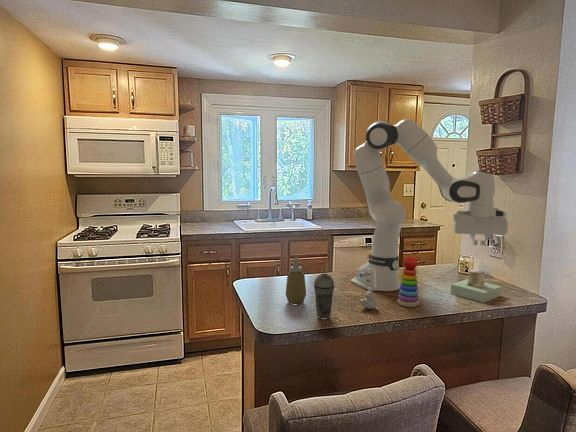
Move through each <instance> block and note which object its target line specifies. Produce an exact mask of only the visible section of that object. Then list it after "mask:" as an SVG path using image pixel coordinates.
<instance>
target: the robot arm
mask: <svg viewBox="0 0 576 432" xmlns="http://www.w3.org/2000/svg"><path fill="white" fill-rule="evenodd" d="M364 137H365V141H364V143H362V144H361V145H360V144H359V145H358V146H357V147H356V148H355V149H354V152H353V158H354V163H355V167H356V172H357V173H358V176H359V179H360V182H361V185H362V187H363V190H364V194H365V198H366V202H367V207H368V212H369V216H370V217H371V218H372V219H373V220H375V222H376V224H375V229H374V233H373V235H372V237H371V238H372V239H371V253H370V254H369V255H368V254H367V255H366V259H368V261H367V262H366V263H364V264H363V265H361V266H360V267H358V268H357V270H356V274H355V277H352V278H351V279H350V283H352V284H354V285H357V286H358V287H361V288H363V289H366V290H367V291H368V290H371V291H372V292H373V291H374V292H375V291H379V292H394V291H398V290H400V289H401V287H400V285H401V283H400V279H399V270H398V269H399V261H400V257H399V239H400V238H399V237H400V234H401V229H402V227H403V226H402V225H403V222H404V221H405V220H406V217H407V212H406V209H405V207H404V206H403V204H402V203H400V202H399V201H397V200H395V199H393V197H392V194H391V190H390V189H391V187H390V183H391V182H390V179H389V176H388V173H387V170H386V168H385V165H384V162H383V160H382V156H381V151H382V150H383V149H384V150H385V149H387V148H388V147H390V146H393V145H394V144H395V145H397V146H398V147H400V149H402V151H403V152H404V153H405V154H406V155H407V156H408V157H409V159H411V160H412V161H413V162H415V163H416V164H417V165H419V166H420V167H422V168H423V170H425V171H426V173H428V175H429V176H430V177H431V178H432V180H433V181H434V182H435V183H436V184H437V186H438V188H439V189H438V190H439V192H440V195H441V196H442V198H443V199H444V200H445V201H447V202H450V203H451V202H453V203H457V204H464V203H469V207H468V210H458V211H456V212H455V213H454V214H453V225H452V231H453V233H455V234H456V235H457V234H459V235H462V234H463V235H469V237H470V239H471V240H472V243H471V244H472V245H473V246H478V240H476V239H475V237H476V235H483V239H480V241H479V244H480V245H481V246H486V241H487V240H488V239H489V238H490V235H491V236H492V235H494V236H500V235H501V236H504V235H507V234H508V230H509V227H508V225H509V224H508V219H507V212H506V211H504V210H503V209H499V208H496V207H494V206H495V203H494V197H495V193H496V192H495V191H496V182H495V181H496V180H495V175H494V174H493V173H491V172H488V171H483V170H482V171H481V170H474V171H473V172H471V173H470V174H467V175H466V176H464V177H461V178H460V177H459V178H457V177H454V176H453V175H451V174H450V173H449V172H448V171H447V169H446V168H445V167H444V166H443V165H442V164H441V162H440V161H439V159H438V147H437V145H436V143H435V141H434V140H433V138H432V137H431V136H430V135H429V133H427V132H426V130H424V129H423V128H422V126H420V125H419V124H418V123H416V122H415V121H414V120H412V119H410V118H404V119H402V120H400V121H398V122H397V123H396V124H393V125H392V124H390V123H389V122H388V121H386V120H375V121H373V122H372V123H371V124H370V125H369V126H368V128H367V129H366V132H365V136H364Z"/></svg>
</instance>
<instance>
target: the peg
mask: <svg viewBox="0 0 576 432" xmlns="http://www.w3.org/2000/svg"><path fill="white" fill-rule="evenodd" d="M485 274H486V271H483V270H479V269H471V270H468V274H467V275H468V276H467V279H468V286H471V287H475V288H479V289H480V288H482V287H484V282H485V279H486V278H485V277H486V275H485Z"/></svg>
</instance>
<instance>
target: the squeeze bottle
mask: <svg viewBox="0 0 576 432" xmlns="http://www.w3.org/2000/svg"><path fill="white" fill-rule="evenodd" d="M299 263H300V262H299V258H298V257H294V259H293V264H292V265H290V267H289V271H288V272H287V276H286V287H285V297H286V300H287V303H288V302H289V303H292V304H301V305H303V304H304V302H305V299H306V297H307V290H306V289H307V288H306V287H307V286H306V278H305V277H306V276H305V272H303V267H302V266H301V265H300V264H299ZM289 303H288V304H289ZM302 303H303V304H302Z"/></svg>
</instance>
